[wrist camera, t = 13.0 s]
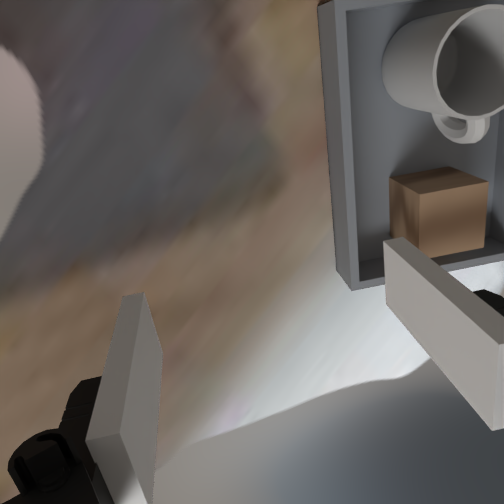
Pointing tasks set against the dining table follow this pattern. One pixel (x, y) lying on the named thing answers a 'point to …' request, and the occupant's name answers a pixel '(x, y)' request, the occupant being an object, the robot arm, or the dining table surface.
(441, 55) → the cup
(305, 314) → the dining table surface
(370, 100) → the gray tray
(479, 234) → the walnut block
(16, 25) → the dining table surface
